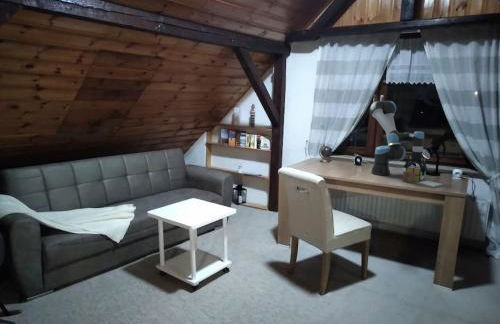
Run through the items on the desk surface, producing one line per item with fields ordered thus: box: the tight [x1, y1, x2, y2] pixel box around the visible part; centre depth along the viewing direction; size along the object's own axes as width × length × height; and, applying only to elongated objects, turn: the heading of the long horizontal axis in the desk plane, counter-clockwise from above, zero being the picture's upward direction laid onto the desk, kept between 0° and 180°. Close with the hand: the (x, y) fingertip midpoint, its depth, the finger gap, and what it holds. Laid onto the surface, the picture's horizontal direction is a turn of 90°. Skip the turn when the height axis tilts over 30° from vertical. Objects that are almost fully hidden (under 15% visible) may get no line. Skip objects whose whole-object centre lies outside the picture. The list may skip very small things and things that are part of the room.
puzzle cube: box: [407, 165, 422, 182], centre depth 284 cm, size 10×10×10 cm
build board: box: [415, 179, 446, 189], centre depth 270 cm, size 14×14×1 cm
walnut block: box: [402, 170, 415, 185], centre depth 276 cm, size 6×6×8 cm
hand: (414, 177), depth 285 cm, fingers closed on puzzle cube, 11 cm apart
